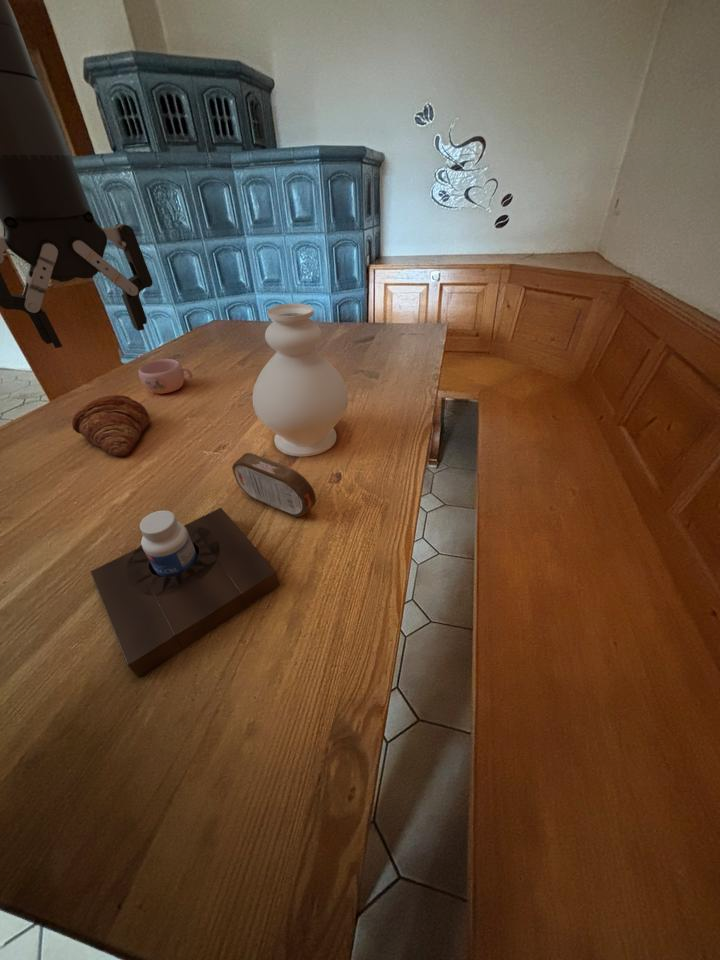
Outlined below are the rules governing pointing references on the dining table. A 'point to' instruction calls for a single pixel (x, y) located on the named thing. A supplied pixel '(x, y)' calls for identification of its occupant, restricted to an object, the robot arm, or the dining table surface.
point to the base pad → (182, 592)
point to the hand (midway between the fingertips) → (100, 337)
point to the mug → (163, 375)
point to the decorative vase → (298, 385)
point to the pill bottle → (167, 544)
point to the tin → (274, 484)
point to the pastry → (112, 423)
